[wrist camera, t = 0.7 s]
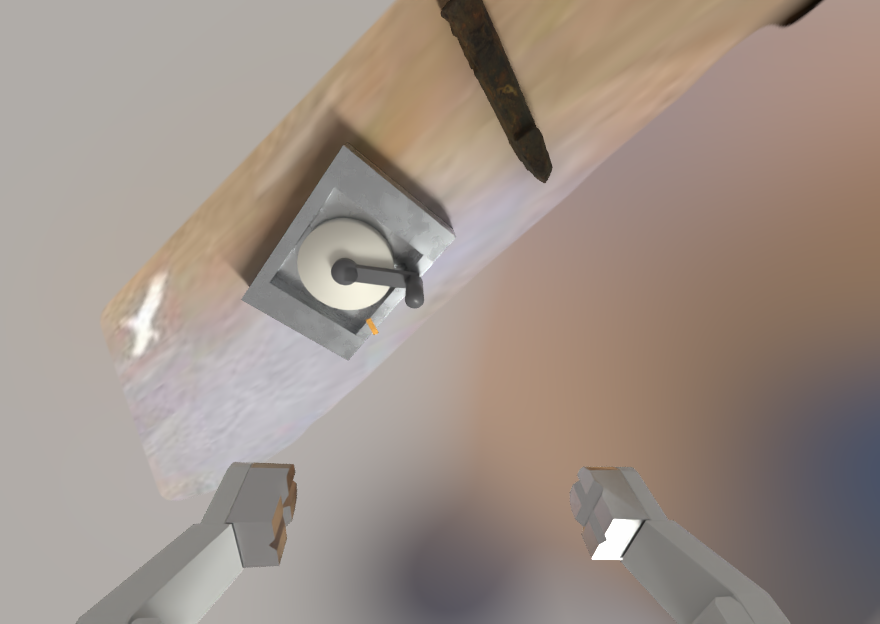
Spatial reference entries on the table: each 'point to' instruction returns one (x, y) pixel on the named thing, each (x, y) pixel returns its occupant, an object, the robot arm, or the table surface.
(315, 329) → the panel
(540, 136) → the hand tool
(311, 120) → the table surface
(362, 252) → the crank
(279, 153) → the table surface
